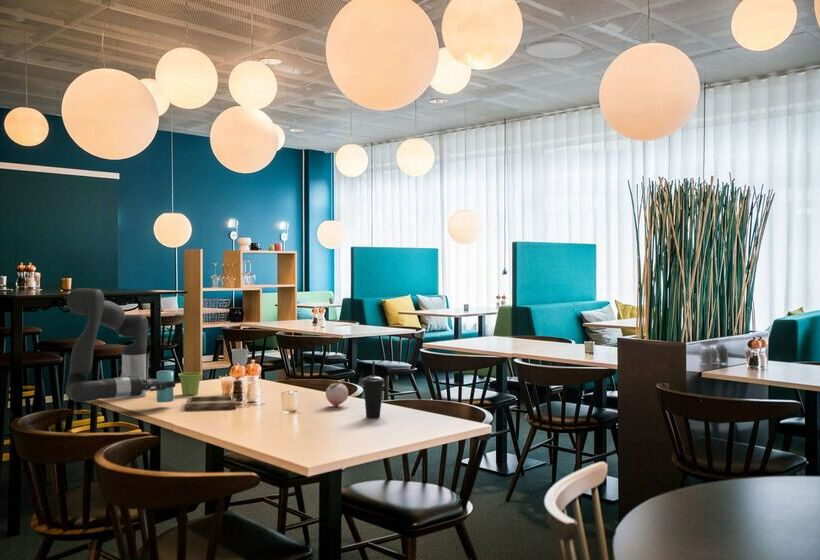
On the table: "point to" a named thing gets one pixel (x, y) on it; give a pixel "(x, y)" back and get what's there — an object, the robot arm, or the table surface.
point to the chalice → (239, 356)
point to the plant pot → (190, 382)
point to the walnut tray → (210, 403)
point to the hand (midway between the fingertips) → (171, 382)
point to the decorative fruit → (336, 393)
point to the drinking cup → (373, 394)
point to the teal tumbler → (168, 392)
